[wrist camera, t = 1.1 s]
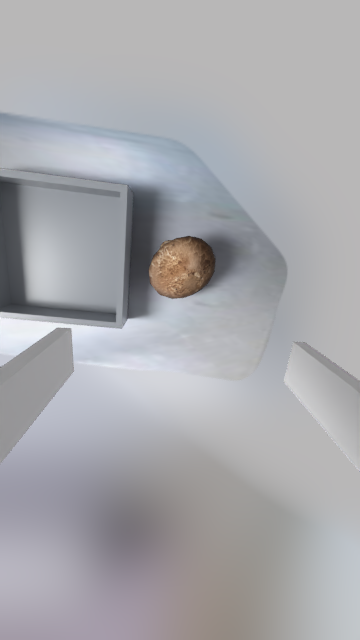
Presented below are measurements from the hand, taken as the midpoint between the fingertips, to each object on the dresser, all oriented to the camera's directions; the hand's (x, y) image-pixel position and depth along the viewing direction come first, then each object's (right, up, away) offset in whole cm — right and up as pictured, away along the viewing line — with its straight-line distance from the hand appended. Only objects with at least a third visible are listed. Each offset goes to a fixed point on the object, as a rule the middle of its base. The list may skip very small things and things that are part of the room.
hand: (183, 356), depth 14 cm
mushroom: (0, +9, +16) cm, 19 cm away
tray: (-14, +10, +15) cm, 23 cm away
